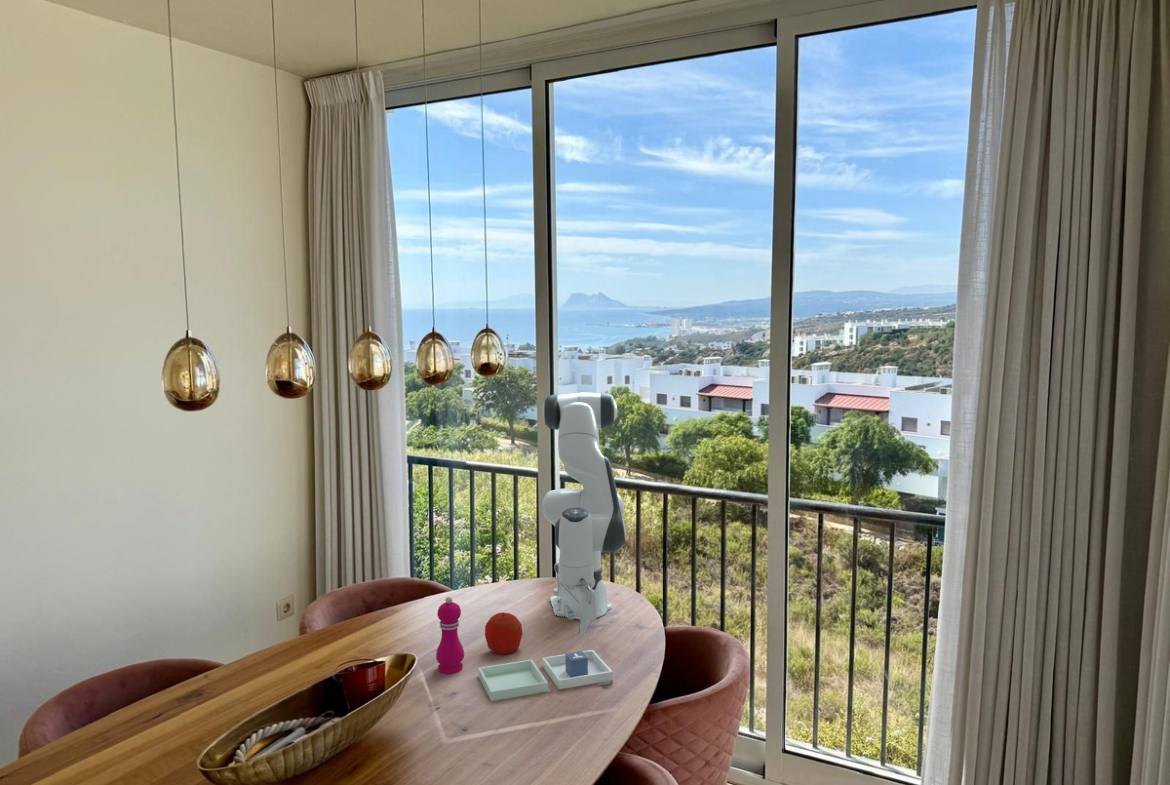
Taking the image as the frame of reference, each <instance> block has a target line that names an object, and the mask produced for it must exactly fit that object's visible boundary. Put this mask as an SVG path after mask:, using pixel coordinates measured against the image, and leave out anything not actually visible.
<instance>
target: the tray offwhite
mask: <svg viewBox="0 0 1170 785" xmlns="http://www.w3.org/2000/svg"><path fill="white" fill-rule="evenodd" d="M581 651H582V650H581ZM582 652H583V653H584V654H585V655H586V656H587V658H588V675H583V676H577V677H570V676H569V674H568V673H567V672H566V657H565V654H566V653H565V654H557V655H552V656H546V657H542V658H541V659H542V660H541V662H542V663H541V667H542V668H543V669H544V671H545V672H546V674H547V675H548V676H549V678H550V679H551V680H552V681H553V684H555V686H556V688H558V690H565V689H570V688H576V687H582V686H588V685H594V684H598V685H599V686H604V685H610V684H613V683H614V671H613V670H612V669H611V668H610V667H609V666H608V665H607V664H606V662H604V660H603V659H602V657H600V655H598V654H597V653H596V651H595V650H593V649H589V650H584V651H582Z"/></svg>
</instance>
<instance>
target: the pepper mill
mask: <svg viewBox="0 0 1170 785" xmlns="http://www.w3.org/2000/svg"><path fill="white" fill-rule="evenodd" d="M461 611H462V610H461V606H460V605H459V604H458V603H457V602H453V598H452V597H451V596H447V597H446V598H445V602H444V603H443V602H442V604H440V606H439V607H438V609H437V618H438V619H439V628H440V629H441V637H440V638H441V639H440V642H439V645H438V646H437V649H436V654H435V658H436V662H437V663H438V666H437V670H438V672H439V673H440V674H443V675H453V674H457V673H458V674H459V672H461V671H463V667H464V666H463V662H462V661H463V660H464V658H465V652H464V646H463V645H462V643H461V641H460V637H459V634H458V633H459V632H458V628H459V627H460V620H459V618H461V615H462V612H461Z"/></svg>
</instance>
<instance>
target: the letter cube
mask: <svg viewBox="0 0 1170 785" xmlns="http://www.w3.org/2000/svg"><path fill="white" fill-rule="evenodd" d="M565 657H566V672H567V673H568V674H569V676H570V677H577V676H583V675H588V658H587V656H586V655H585V654H584V653H583V652H582V650H579V651H573V652H567V653H565Z"/></svg>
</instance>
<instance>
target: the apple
mask: <svg viewBox="0 0 1170 785" xmlns="http://www.w3.org/2000/svg"><path fill="white" fill-rule="evenodd" d="M523 634H524V633H523V625H522V623H521V622H520V620H519V619H518V618H517V616H516V615H514V614H512V613H510V612H498V613H495V614H494V615H492V616H490V618H489V619H488V621H487V623H486V624H485V627H484V637H485V641H486V644H487V647H488V649H489V650H490V651H492V652H493V653H495V654H498V655H509V654H511V653H514V652H515V651H517V649H519V648H520V644H521V641H522V638H523Z"/></svg>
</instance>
